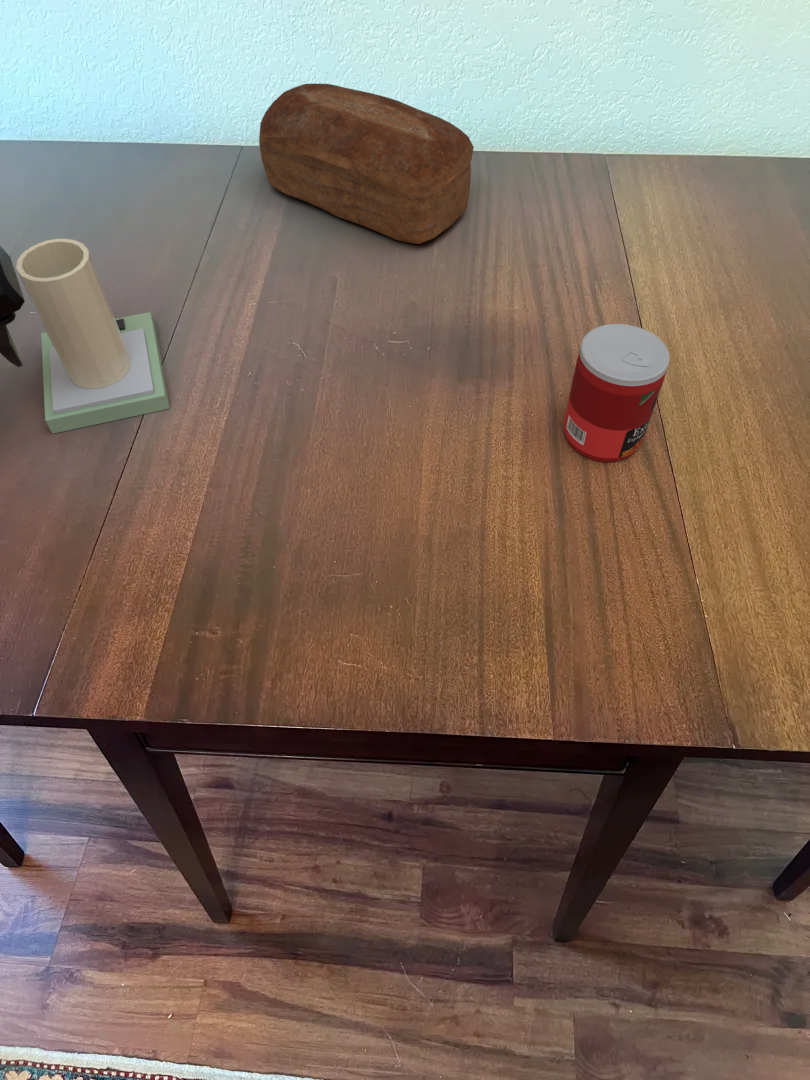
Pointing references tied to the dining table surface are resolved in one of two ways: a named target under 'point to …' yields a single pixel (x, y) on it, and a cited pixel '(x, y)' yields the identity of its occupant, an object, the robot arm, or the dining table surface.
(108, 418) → the scale
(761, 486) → the dining table surface
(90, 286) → the cup
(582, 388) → the canned food
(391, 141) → the bread
